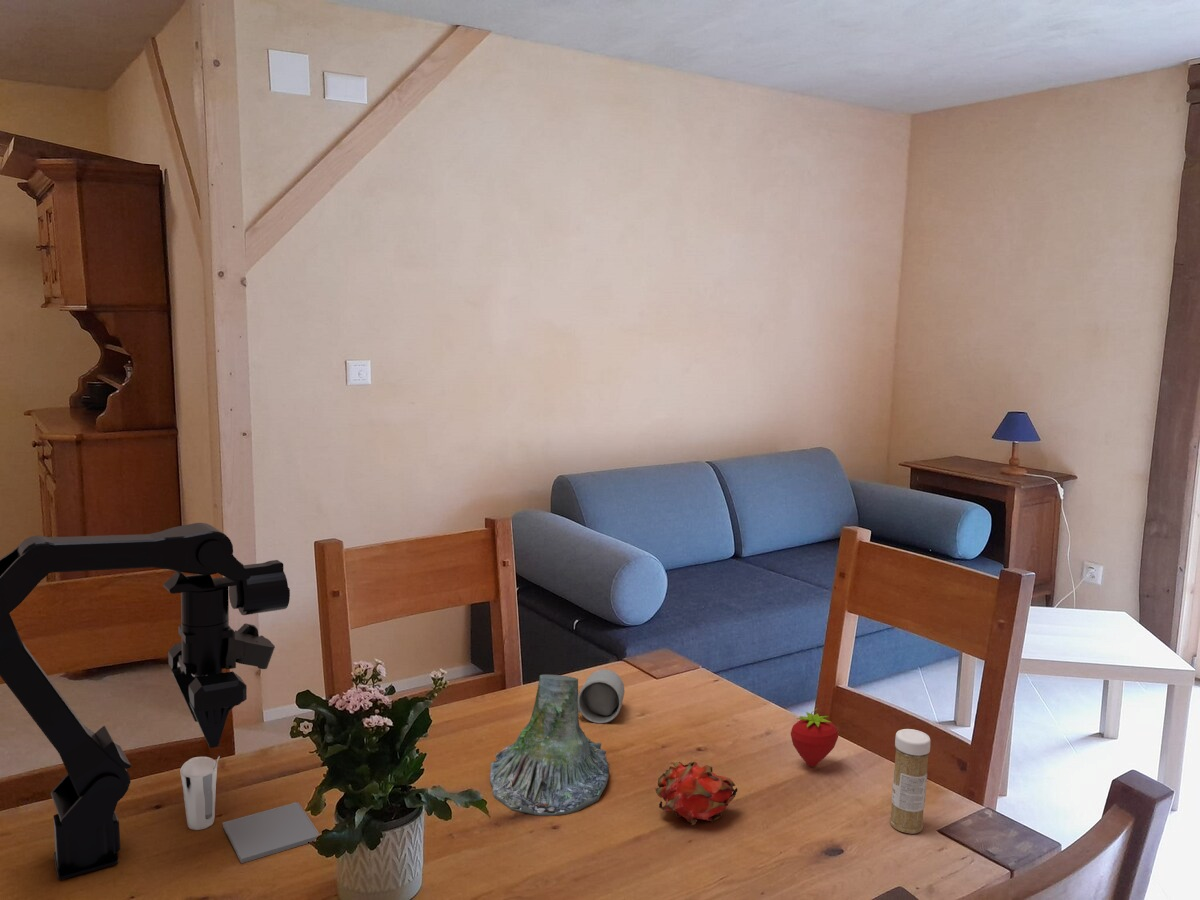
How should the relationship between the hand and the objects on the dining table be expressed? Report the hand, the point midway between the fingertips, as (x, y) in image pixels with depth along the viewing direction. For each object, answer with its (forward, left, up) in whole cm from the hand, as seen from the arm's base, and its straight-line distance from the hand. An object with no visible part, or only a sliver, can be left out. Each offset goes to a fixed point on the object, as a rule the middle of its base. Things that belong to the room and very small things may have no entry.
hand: (206, 733), depth 121 cm
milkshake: (-1, 0, -13) cm, 13 cm away
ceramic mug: (+64, +1, -13) cm, 65 cm away
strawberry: (+82, -33, -13) cm, 90 cm away
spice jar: (+80, -52, -13) cm, 96 cm away
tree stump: (+45, -14, -13) cm, 49 cm away
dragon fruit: (+57, -34, -13) cm, 68 cm away
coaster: (+6, -7, -13) cm, 16 cm away
